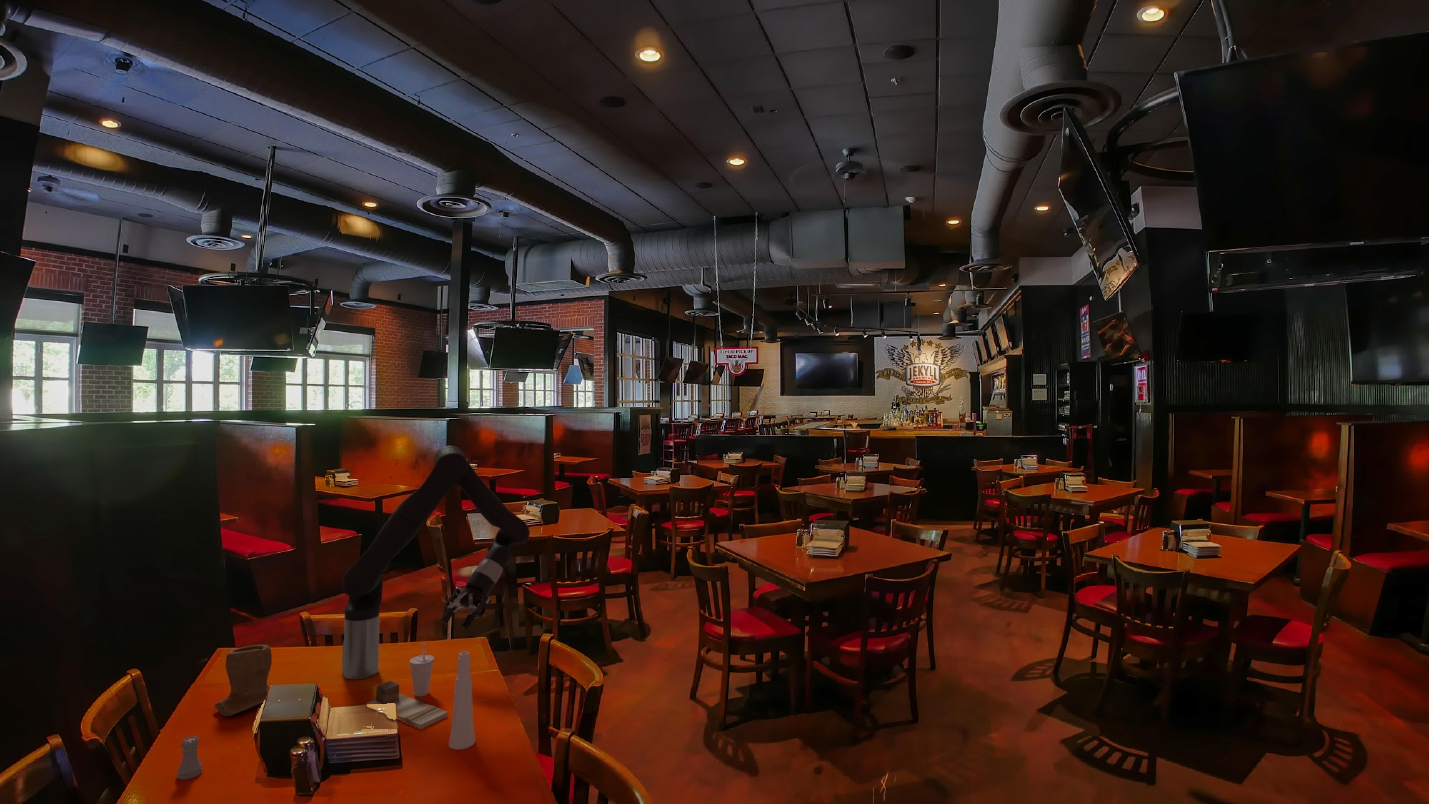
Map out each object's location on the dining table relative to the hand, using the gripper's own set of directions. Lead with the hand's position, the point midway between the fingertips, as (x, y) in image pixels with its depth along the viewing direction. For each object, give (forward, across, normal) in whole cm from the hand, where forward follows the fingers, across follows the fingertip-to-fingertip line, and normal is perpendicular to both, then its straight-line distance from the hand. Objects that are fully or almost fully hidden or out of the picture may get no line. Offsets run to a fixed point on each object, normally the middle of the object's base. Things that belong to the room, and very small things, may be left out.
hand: (453, 624), depth 196 cm
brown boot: (+40, -33, -16) cm, 54 cm away
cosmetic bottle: (+28, +31, -4) cm, 42 cm away
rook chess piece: (+56, -8, -32) cm, 65 cm away
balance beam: (+25, +6, -2) cm, 26 cm away
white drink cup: (+19, 0, +4) cm, 20 cm away
